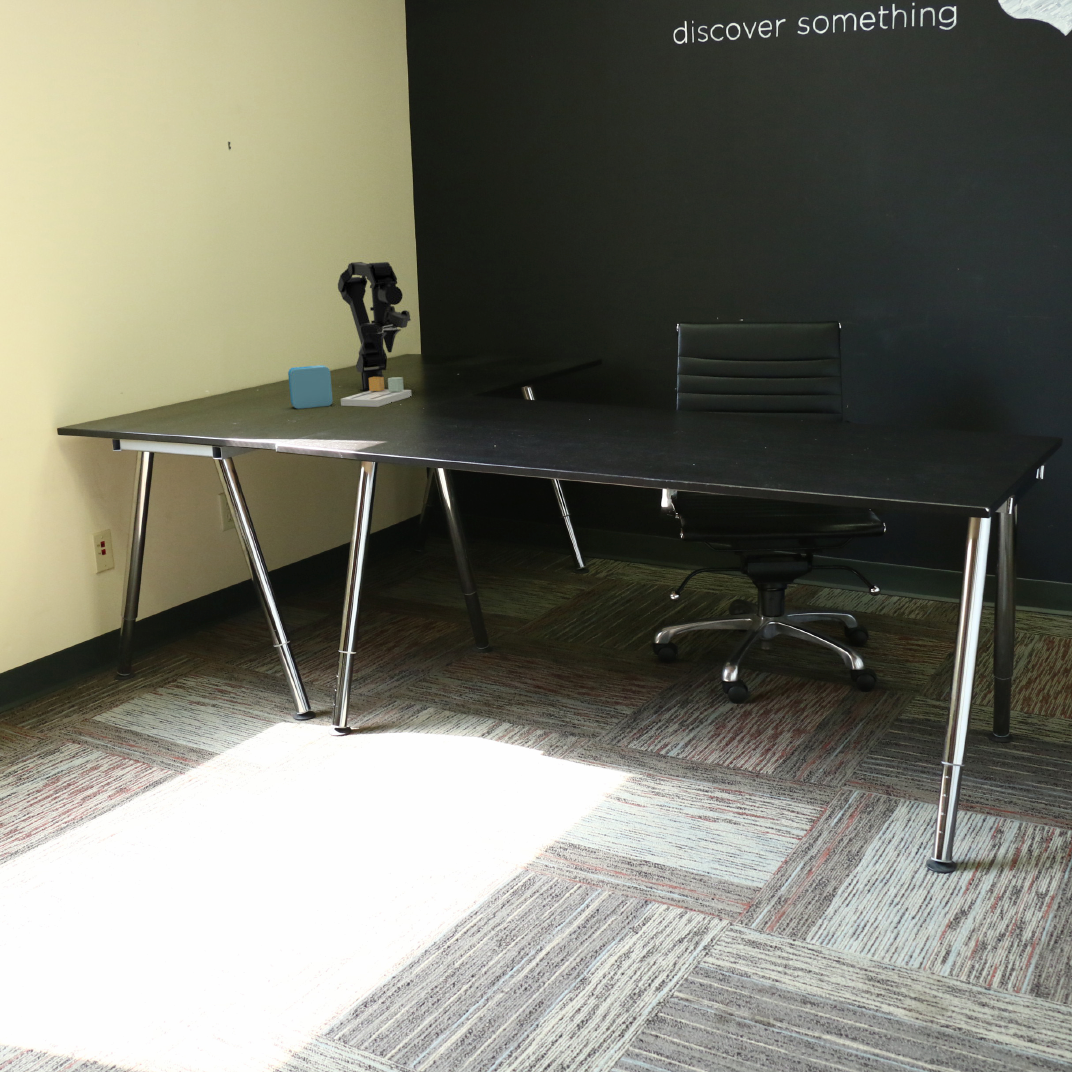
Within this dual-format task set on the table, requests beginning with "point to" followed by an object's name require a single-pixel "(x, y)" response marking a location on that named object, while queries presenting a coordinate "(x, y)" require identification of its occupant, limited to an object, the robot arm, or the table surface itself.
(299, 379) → the blue rounded block
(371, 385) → the amber fader
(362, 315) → the robot arm
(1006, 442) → the table surface
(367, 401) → the mixer console
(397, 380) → the sage fader
